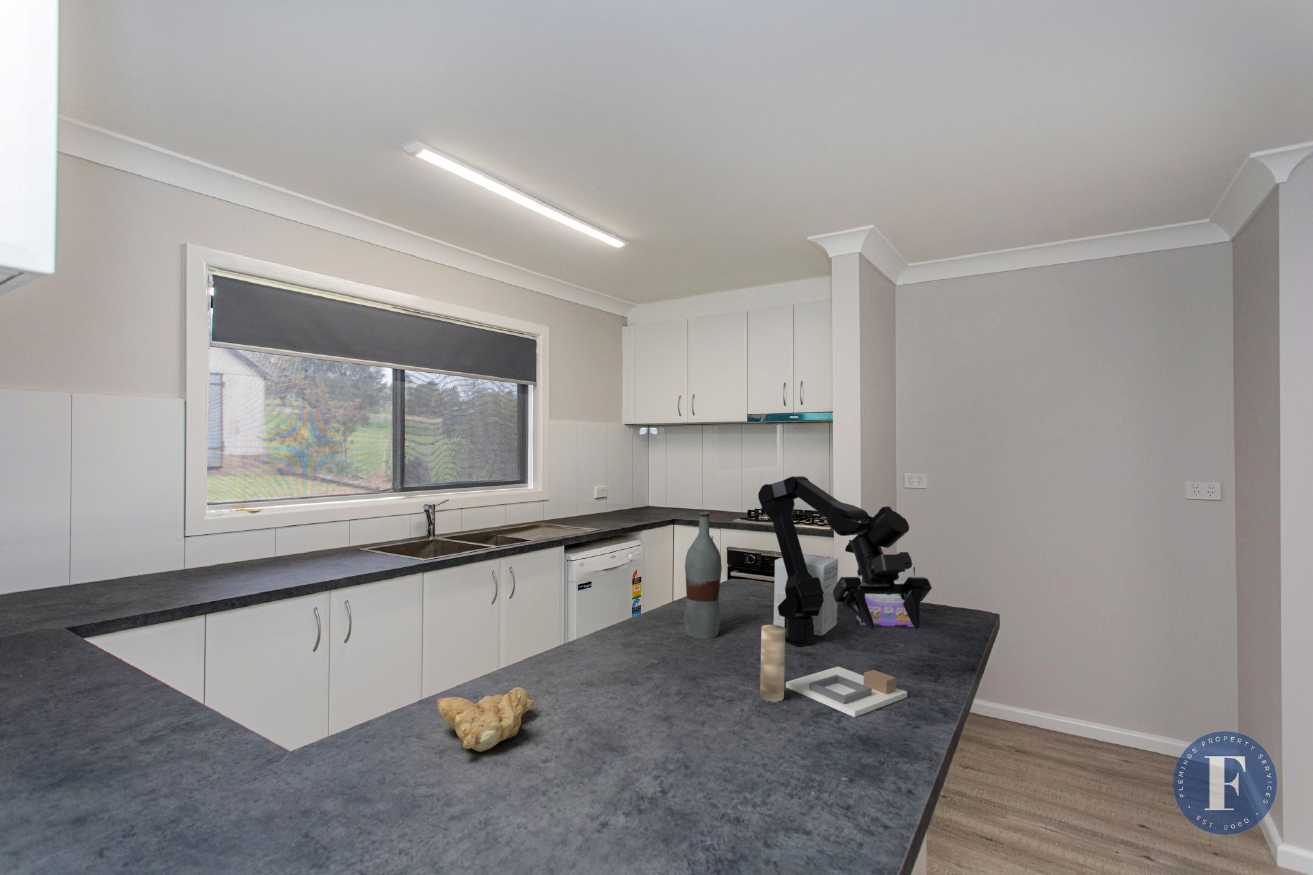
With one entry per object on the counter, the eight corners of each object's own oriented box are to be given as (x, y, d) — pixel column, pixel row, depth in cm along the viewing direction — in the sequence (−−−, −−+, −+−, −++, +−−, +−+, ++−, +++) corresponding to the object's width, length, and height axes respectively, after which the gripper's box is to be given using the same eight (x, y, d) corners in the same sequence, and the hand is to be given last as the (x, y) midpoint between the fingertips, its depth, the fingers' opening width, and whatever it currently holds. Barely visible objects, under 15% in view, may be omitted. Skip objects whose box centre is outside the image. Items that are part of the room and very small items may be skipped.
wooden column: (755, 695, 119) (756, 626, 119) (771, 690, 122) (773, 623, 122) (772, 704, 116) (773, 632, 116) (788, 698, 118) (790, 629, 118)
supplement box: (838, 624, 168) (839, 558, 168) (822, 636, 157) (824, 566, 157) (790, 615, 175) (791, 552, 175) (772, 627, 164) (773, 559, 164)
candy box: (908, 621, 172) (909, 561, 172) (914, 628, 166) (916, 565, 166) (855, 619, 174) (857, 559, 174) (860, 625, 168) (862, 563, 168)
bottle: (676, 630, 159) (679, 510, 159) (708, 626, 163) (711, 510, 163) (694, 641, 151) (697, 515, 151) (727, 637, 155) (730, 514, 155)
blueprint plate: (785, 687, 124) (786, 669, 124) (838, 671, 133) (838, 654, 133) (854, 717, 111) (855, 697, 111) (907, 697, 120) (907, 678, 120)
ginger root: (429, 759, 90) (433, 699, 92) (435, 737, 105) (439, 685, 107) (540, 752, 95) (542, 694, 96) (531, 731, 109) (533, 682, 111)
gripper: (840, 536, 127) (863, 607, 116) (928, 537, 129) (958, 606, 118) (824, 567, 134) (844, 636, 124) (907, 568, 137) (934, 635, 126)
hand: (895, 628), depth 123 cm, fingers open, 9 cm apart
